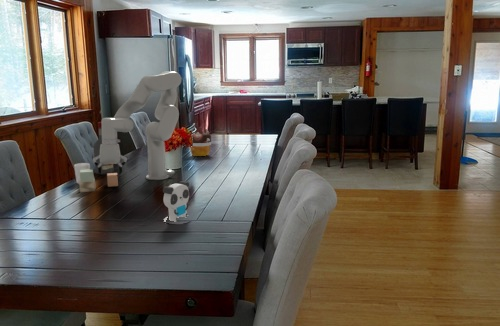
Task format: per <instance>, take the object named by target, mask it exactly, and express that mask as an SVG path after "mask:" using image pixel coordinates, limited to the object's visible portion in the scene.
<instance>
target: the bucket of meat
mask: <svg viewBox="0 0 500 326" xmlns="http://www.w3.org/2000/svg"><path fill="white" fill-rule="evenodd" d="M202 130H203V129H202V127H201V126H199V127H198V130H197V129H195V133H194V134H193V133H192V137H193V146H192V147H190V146H189V149H190V153H191V155H192V157H194V156H205V157H207V156H208V155H209V154H210V148H211V144H212V135H211V134H210V132H209V130H208V129H207V128H205V129H204V130H203V131H204V132H203V131H202ZM206 155H207V156H206Z"/></svg>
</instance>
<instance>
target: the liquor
mask: <svg viewBox="0 0 500 326" xmlns="http://www.w3.org/2000/svg"><path fill="white" fill-rule="evenodd" d="M101 122H102V121H99V122H97V127H98V139H97V140H96V141H95V143H94V144H93V158H95V157H97V156H99V155H100V145H101V144H102V123H101ZM96 162H97V163H98V164H99V163H100V158H99V159H97V160H96ZM94 171H95V174H96V175H97V174H98V175H100V173H98V167H97V166H96V165H95V164H94ZM107 173H114V164H102V165H101V175H107Z"/></svg>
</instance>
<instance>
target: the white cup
mask: <svg viewBox="0 0 500 326" xmlns="http://www.w3.org/2000/svg"><path fill="white" fill-rule="evenodd" d="M73 166H74V175H75V179H76V181H75V182H76V184H78V185H79V182H80V170H87V169H91V164H90V163H88V162H80V163H75V164H74V165H73Z"/></svg>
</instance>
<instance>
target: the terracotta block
mask: <svg viewBox="0 0 500 326" xmlns="http://www.w3.org/2000/svg"><path fill="white" fill-rule="evenodd" d="M106 178H107V181H106V182H107V187H108V188H109V187H118V186H119V181H118V172H112V173H107V174H106Z"/></svg>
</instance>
